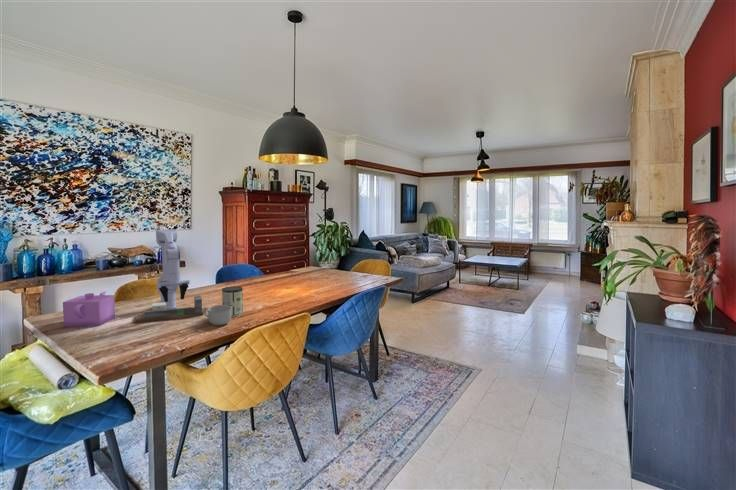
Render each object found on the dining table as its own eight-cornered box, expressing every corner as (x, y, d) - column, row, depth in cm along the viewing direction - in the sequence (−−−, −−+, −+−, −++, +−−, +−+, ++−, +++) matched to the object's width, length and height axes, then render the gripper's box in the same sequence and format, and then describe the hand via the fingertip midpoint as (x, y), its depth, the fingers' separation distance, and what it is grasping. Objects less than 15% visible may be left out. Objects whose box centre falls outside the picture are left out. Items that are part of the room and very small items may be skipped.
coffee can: (228, 311, 196) (227, 285, 195) (246, 312, 195) (245, 286, 194) (218, 316, 186) (218, 289, 185) (237, 317, 185) (237, 290, 184)
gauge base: (137, 316, 184) (136, 300, 183) (201, 309, 198) (201, 294, 197) (135, 322, 173) (134, 305, 172) (203, 315, 188) (202, 299, 187)
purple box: (122, 313, 187) (121, 287, 186) (94, 329, 163) (92, 299, 162) (90, 314, 185) (88, 287, 184) (56, 330, 160) (54, 299, 159)
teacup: (236, 321, 178) (236, 306, 177) (220, 328, 168) (220, 311, 167) (214, 318, 183) (213, 303, 182) (197, 324, 172) (197, 308, 172)
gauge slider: (152, 312, 184) (152, 303, 184) (166, 311, 187) (165, 302, 187) (152, 317, 177) (151, 307, 176) (166, 315, 179) (165, 306, 179)
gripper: (160, 274, 169) (162, 303, 170) (191, 272, 181) (192, 298, 181) (154, 274, 174) (156, 302, 174) (185, 271, 185) (186, 297, 185)
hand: (174, 300), depth 178 cm, fingers open, 7 cm apart
